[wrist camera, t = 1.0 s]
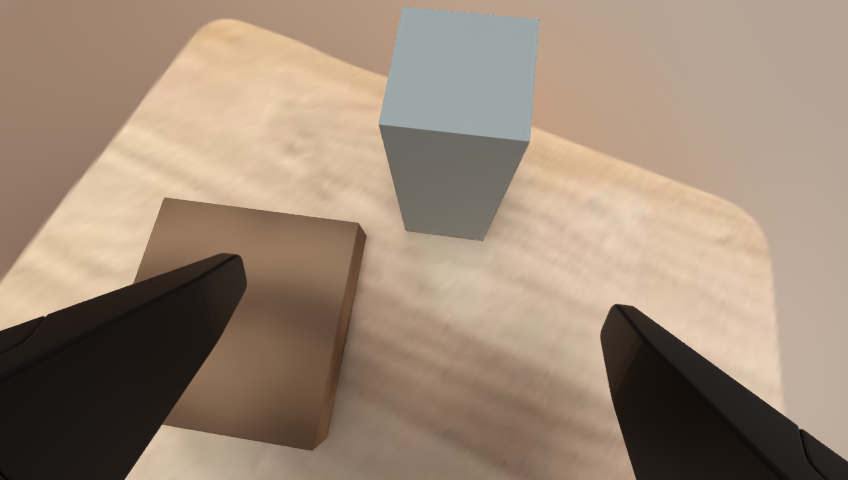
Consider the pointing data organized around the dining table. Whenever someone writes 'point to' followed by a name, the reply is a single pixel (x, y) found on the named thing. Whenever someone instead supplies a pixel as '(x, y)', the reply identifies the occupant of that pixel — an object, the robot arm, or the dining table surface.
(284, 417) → the walnut board
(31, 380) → the robot arm
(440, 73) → the slate post
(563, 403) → the dining table surface
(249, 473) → the dining table surface
